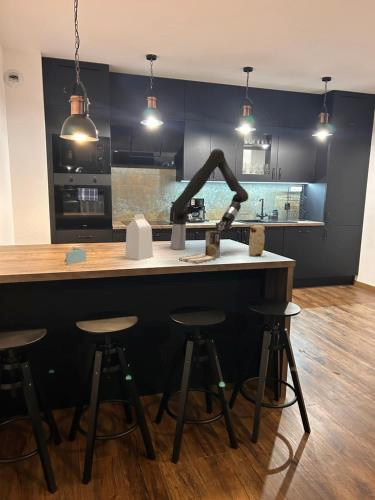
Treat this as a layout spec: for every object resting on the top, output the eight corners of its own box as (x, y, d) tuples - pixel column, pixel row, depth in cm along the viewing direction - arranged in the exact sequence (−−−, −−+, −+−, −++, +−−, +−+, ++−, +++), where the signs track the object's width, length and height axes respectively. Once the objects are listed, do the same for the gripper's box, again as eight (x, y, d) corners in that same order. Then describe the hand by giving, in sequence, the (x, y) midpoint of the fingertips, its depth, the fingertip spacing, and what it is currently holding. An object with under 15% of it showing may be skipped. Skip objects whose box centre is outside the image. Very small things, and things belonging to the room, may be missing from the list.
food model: (249, 256, 226) (251, 225, 223) (247, 254, 233) (248, 224, 229) (264, 257, 227) (266, 225, 223) (261, 254, 234) (263, 224, 230)
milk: (138, 260, 207) (139, 215, 202) (125, 257, 214) (125, 214, 209) (152, 257, 216) (153, 214, 212) (139, 254, 223) (139, 213, 218)
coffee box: (219, 256, 226) (220, 230, 223) (219, 258, 220) (220, 232, 217) (205, 255, 227) (206, 230, 224) (204, 257, 221) (205, 231, 218)
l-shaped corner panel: (74, 259, 208) (73, 246, 207) (86, 262, 201) (85, 249, 199) (55, 262, 199) (54, 249, 198) (67, 265, 192) (66, 252, 190)
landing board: (179, 260, 211) (179, 257, 211) (197, 256, 224) (197, 253, 223) (197, 264, 202) (197, 261, 202) (215, 259, 215) (215, 257, 214)
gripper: (219, 210, 233) (207, 230, 226) (236, 212, 225) (223, 233, 218) (223, 218, 238) (211, 238, 231) (240, 220, 230) (228, 240, 223)
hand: (217, 235), depth 225 cm, fingers closed
